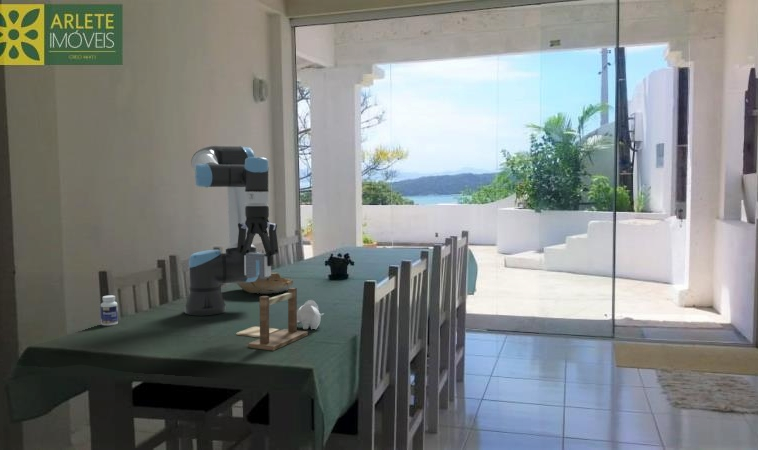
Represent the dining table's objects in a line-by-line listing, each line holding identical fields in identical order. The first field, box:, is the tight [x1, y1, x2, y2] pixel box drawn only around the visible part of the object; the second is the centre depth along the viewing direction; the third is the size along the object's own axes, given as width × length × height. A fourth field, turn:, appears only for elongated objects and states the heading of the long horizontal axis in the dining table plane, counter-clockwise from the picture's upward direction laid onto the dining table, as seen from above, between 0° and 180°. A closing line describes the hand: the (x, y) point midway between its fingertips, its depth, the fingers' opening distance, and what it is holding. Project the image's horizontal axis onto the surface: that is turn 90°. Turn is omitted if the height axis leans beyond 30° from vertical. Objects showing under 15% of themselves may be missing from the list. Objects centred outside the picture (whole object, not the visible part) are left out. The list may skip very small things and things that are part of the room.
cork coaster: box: [236, 326, 280, 339], centre depth 200 cm, size 10×10×1 cm
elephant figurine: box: [297, 299, 325, 330], centre depth 207 cm, size 10×12×9 cm
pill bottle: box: [100, 294, 119, 326], centre depth 210 cm, size 5×5×10 cm
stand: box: [247, 287, 309, 352], centre depth 189 cm, size 20×9×15 cm, turn 157°
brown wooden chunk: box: [236, 272, 294, 295], centre depth 274 cm, size 30×27×15 cm
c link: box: [246, 252, 269, 279], centre depth 198 cm, size 7×3×8 cm, turn 67°
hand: (257, 275), depth 198 cm, fingers closed on c link, 7 cm apart
